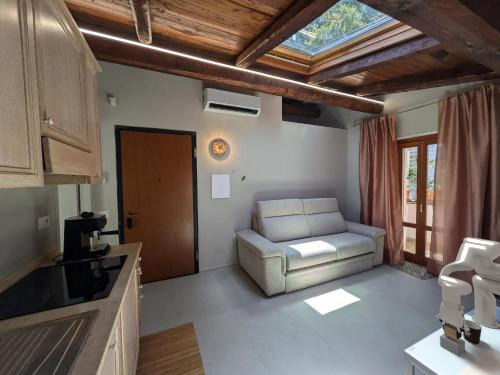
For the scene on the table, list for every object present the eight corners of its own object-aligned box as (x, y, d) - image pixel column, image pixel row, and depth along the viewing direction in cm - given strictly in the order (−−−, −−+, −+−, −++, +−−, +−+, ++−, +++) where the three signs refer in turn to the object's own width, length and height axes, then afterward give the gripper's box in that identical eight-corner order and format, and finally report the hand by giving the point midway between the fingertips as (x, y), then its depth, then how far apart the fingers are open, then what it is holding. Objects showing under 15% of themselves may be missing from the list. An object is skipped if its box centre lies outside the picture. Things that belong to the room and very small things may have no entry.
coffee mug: (486, 346, 119) (486, 329, 119) (469, 345, 120) (468, 328, 120) (469, 332, 130) (469, 316, 130) (453, 330, 132) (453, 315, 132)
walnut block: (448, 331, 122) (448, 322, 122) (459, 336, 118) (459, 327, 117) (444, 334, 120) (444, 325, 120) (456, 339, 115) (455, 331, 115)
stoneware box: (447, 341, 124) (447, 331, 124) (465, 351, 117) (464, 340, 117) (440, 346, 121) (439, 335, 121) (458, 356, 114) (457, 345, 113)
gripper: (474, 309, 112) (475, 342, 113) (435, 295, 128) (436, 323, 128) (469, 314, 109) (470, 347, 109) (429, 298, 124) (430, 328, 124)
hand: (452, 334), depth 119 cm, fingers closed on walnut block, 5 cm apart
